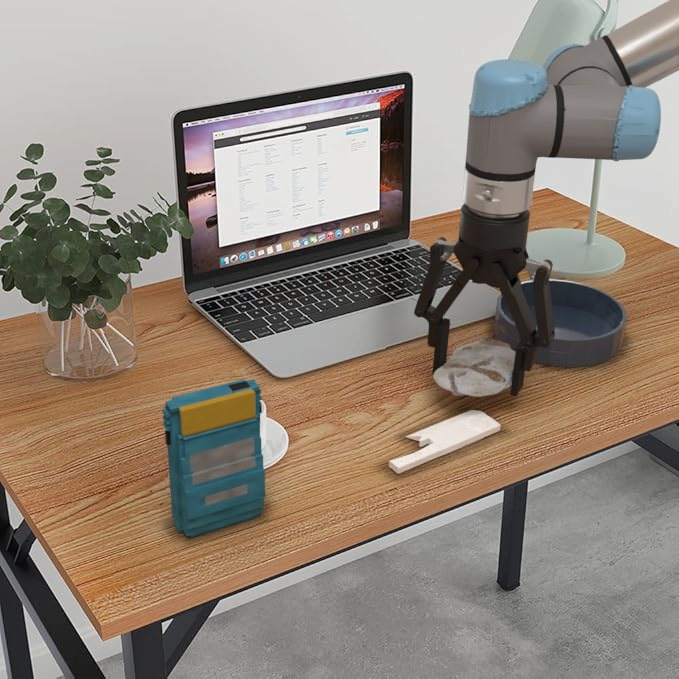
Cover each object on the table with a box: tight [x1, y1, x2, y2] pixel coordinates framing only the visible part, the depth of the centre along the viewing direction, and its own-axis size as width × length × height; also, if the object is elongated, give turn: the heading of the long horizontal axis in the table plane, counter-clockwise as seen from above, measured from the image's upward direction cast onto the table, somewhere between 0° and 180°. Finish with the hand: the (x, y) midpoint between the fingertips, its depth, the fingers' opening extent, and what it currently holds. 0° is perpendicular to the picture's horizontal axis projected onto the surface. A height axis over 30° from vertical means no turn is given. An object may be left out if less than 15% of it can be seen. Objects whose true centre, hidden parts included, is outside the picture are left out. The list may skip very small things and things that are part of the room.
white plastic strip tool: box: [388, 409, 502, 475], centre depth 121 cm, size 5×15×1 cm, turn 125°
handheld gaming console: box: [161, 378, 266, 539], centre depth 105 cm, size 10×4×15 cm, turn 118°
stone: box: [432, 337, 515, 398], centre depth 127 cm, size 12×9×3 cm
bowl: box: [493, 278, 628, 368], centre depth 143 cm, size 17×17×4 cm
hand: (477, 380), depth 128 cm, fingers closed on stone, 9 cm apart
